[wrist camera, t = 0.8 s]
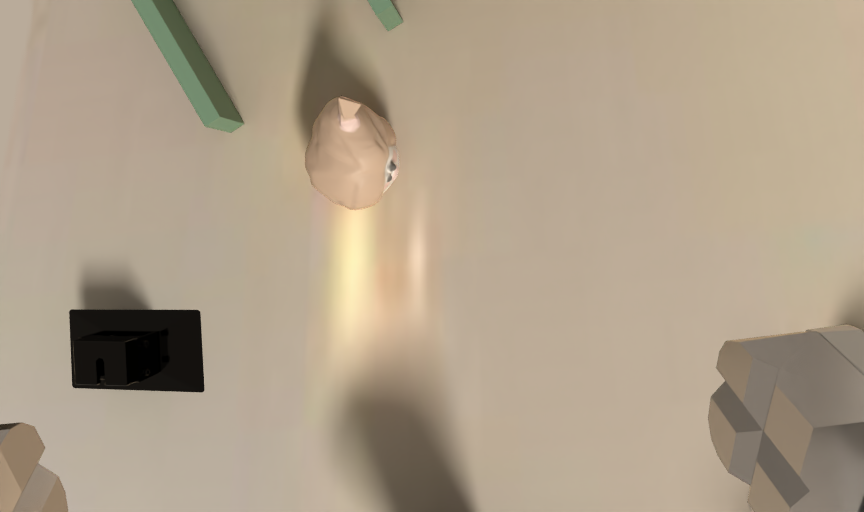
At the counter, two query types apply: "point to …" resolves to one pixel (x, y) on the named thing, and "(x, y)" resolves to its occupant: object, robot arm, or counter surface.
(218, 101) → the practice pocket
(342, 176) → the garlic bulb
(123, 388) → the build plate
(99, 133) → the counter surface
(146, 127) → the counter surface
